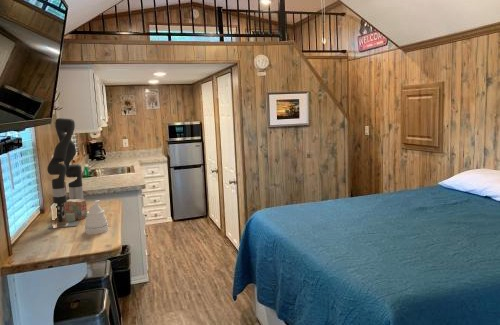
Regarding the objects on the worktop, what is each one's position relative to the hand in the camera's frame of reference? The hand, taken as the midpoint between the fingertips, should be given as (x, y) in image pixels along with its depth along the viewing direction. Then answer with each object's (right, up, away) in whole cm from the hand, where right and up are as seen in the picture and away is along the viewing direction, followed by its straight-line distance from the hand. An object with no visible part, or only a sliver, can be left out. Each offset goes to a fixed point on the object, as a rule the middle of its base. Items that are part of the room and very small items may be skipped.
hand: (61, 220), depth 247 cm
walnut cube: (0, -3, 0) cm, 3 cm away
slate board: (+1, -3, +1) cm, 4 cm away
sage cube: (+1, -2, +11) cm, 11 cm away
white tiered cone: (+27, -5, -12) cm, 30 cm away
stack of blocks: (-3, -1, +19) cm, 19 cm away
